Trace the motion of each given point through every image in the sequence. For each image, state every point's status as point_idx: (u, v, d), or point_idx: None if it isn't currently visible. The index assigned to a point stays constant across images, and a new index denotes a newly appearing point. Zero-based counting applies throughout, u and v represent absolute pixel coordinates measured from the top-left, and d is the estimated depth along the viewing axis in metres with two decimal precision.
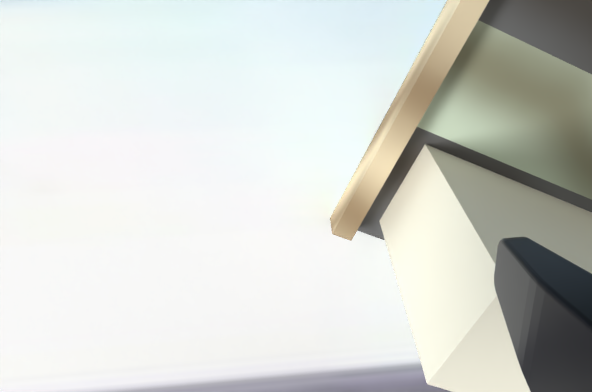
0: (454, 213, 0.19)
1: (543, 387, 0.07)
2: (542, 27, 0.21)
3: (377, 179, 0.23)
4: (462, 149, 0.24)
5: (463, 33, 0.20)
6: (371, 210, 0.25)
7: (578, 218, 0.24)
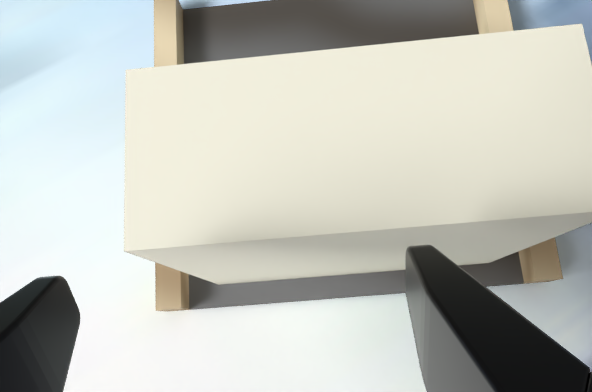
0: None
1: None
2: (249, 45, 0.24)
3: None
4: None
5: None
6: None
7: None
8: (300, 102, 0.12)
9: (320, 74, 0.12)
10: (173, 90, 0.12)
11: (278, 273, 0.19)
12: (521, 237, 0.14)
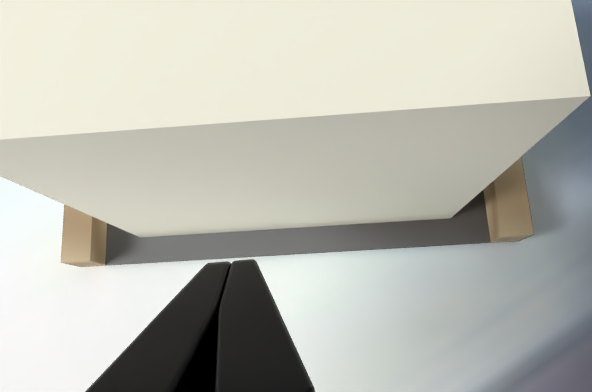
0: None
1: None
2: None
3: None
4: None
5: None
6: None
7: None
8: None
9: None
10: None
11: (197, 219, 0.16)
12: (469, 160, 0.11)
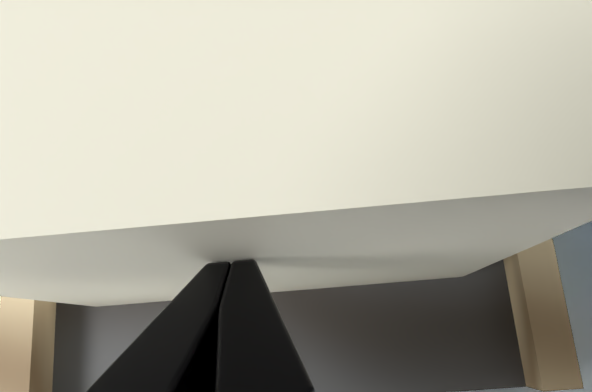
0: None
1: None
2: None
3: None
4: None
5: None
6: (73, 371, 0.15)
7: None
8: None
9: None
10: None
11: (157, 293, 0.13)
12: (495, 239, 0.08)
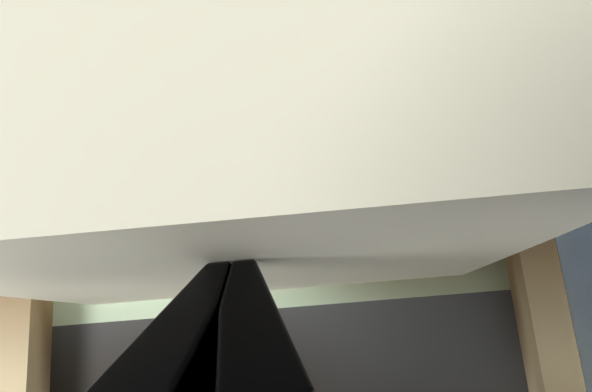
0: None
1: None
2: None
3: None
4: None
5: None
6: None
7: None
8: None
9: None
10: None
11: (155, 292, 0.13)
12: (498, 238, 0.08)
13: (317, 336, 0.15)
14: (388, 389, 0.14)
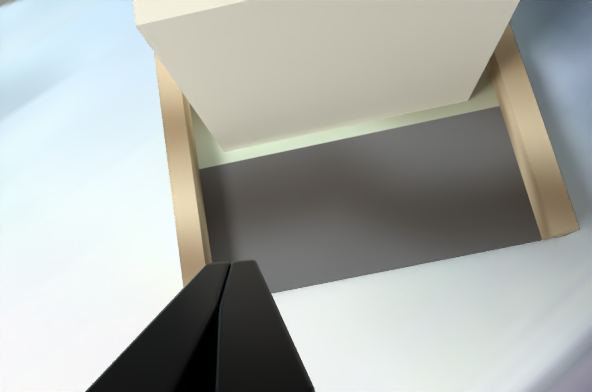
0: None
1: None
2: None
3: (190, 220, 0.21)
4: (265, 158, 0.23)
5: None
6: None
7: None
8: None
9: None
10: None
11: (276, 117, 0.21)
12: (481, 13, 0.16)
13: (376, 151, 0.22)
14: (427, 176, 0.22)
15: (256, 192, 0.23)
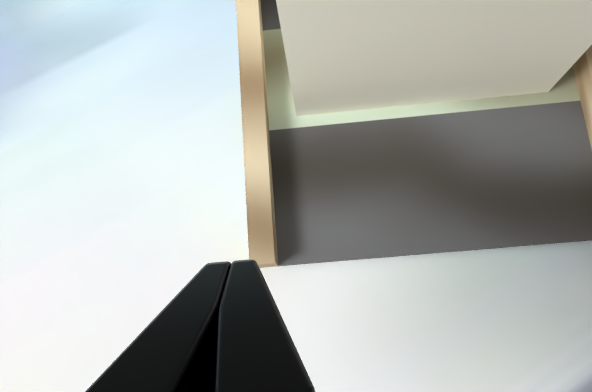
0: None
1: None
2: None
3: (260, 178, 0.21)
4: (337, 127, 0.23)
5: (254, 28, 0.23)
6: (290, 233, 0.22)
7: None
8: None
9: None
10: None
11: (360, 84, 0.20)
12: None
13: (451, 132, 0.22)
14: (501, 162, 0.22)
15: (325, 159, 0.22)
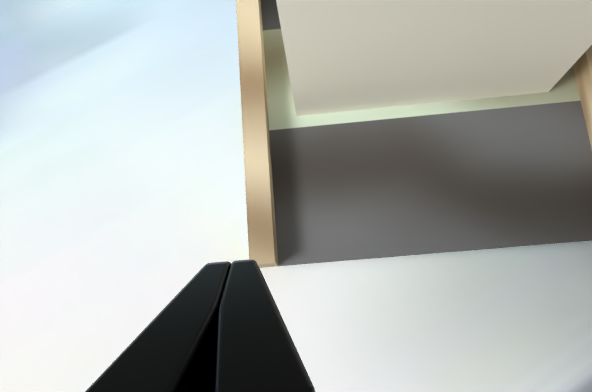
0: None
1: None
2: None
3: (260, 178, 0.21)
4: (337, 127, 0.23)
5: (254, 28, 0.23)
6: (290, 233, 0.22)
7: None
8: None
9: None
10: None
11: (360, 84, 0.20)
12: None
13: (451, 131, 0.22)
14: (501, 162, 0.22)
15: (325, 159, 0.22)
